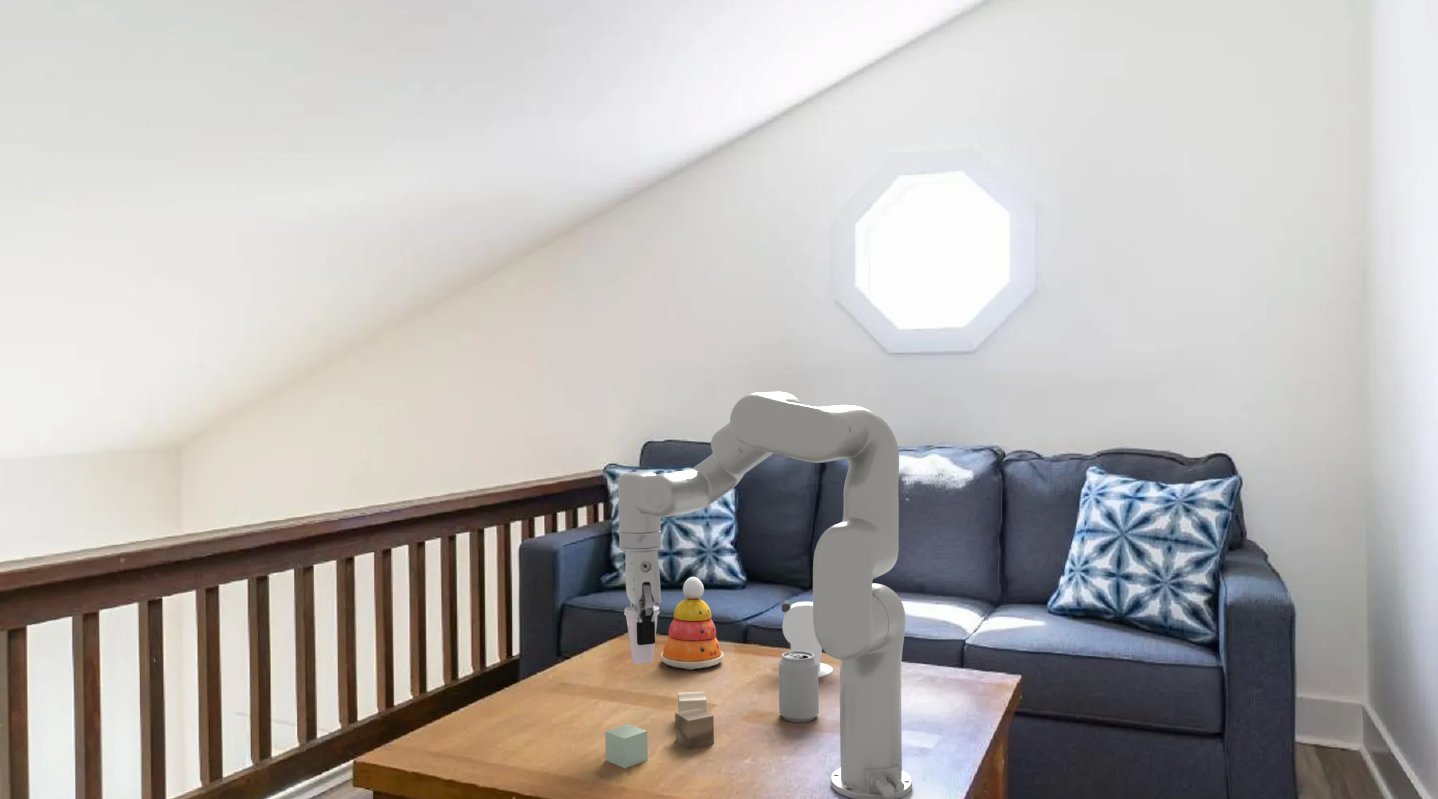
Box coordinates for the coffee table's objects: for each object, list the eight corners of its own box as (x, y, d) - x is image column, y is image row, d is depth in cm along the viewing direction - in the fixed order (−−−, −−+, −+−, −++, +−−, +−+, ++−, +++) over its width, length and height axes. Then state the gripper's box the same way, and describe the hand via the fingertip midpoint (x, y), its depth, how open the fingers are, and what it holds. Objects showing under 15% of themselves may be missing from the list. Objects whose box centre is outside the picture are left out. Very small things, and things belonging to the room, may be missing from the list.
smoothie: (618, 663, 182) (616, 586, 182) (637, 655, 188) (635, 579, 188) (648, 667, 179) (646, 588, 179) (667, 658, 185) (665, 582, 185)
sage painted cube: (647, 760, 171) (647, 730, 171) (624, 768, 167) (624, 738, 167) (628, 752, 174) (628, 724, 174) (605, 760, 171) (605, 731, 171)
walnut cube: (713, 743, 178) (713, 715, 178) (688, 749, 176) (688, 720, 176) (700, 735, 182) (699, 707, 182) (675, 740, 180) (675, 712, 180)
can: (816, 724, 187) (815, 660, 187) (776, 722, 189) (775, 658, 188) (820, 711, 194) (820, 649, 194) (782, 709, 196) (781, 647, 196)
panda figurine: (835, 663, 227) (834, 596, 226) (836, 678, 215) (835, 608, 215) (781, 662, 228) (780, 596, 228) (779, 677, 217) (778, 607, 216)
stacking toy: (688, 676, 218) (687, 586, 218) (647, 663, 229) (646, 577, 228) (736, 663, 228) (735, 577, 227) (695, 651, 238) (694, 569, 238)
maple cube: (706, 726, 187) (706, 699, 187) (679, 727, 187) (679, 700, 186) (704, 717, 192) (704, 691, 192) (678, 718, 192) (678, 692, 191)
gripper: (670, 546, 176) (673, 649, 176) (651, 532, 192) (653, 627, 193) (627, 549, 174) (630, 653, 174) (612, 535, 190) (614, 630, 191)
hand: (642, 638), depth 183 cm, fingers closed on smoothie, 6 cm apart
